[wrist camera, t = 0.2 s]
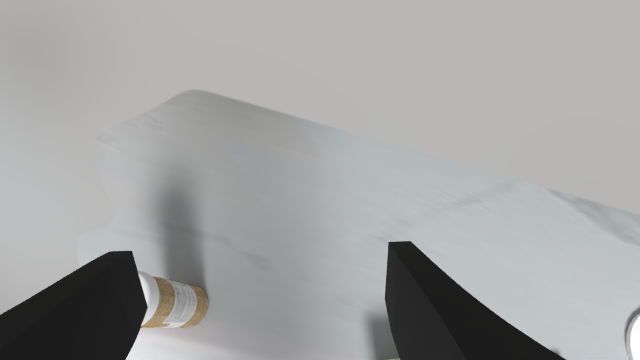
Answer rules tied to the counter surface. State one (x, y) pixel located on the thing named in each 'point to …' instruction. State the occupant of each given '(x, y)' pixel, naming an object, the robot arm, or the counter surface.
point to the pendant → (633, 339)
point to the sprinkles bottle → (171, 303)
